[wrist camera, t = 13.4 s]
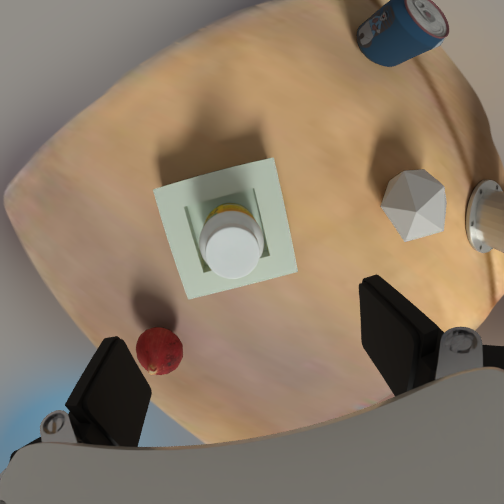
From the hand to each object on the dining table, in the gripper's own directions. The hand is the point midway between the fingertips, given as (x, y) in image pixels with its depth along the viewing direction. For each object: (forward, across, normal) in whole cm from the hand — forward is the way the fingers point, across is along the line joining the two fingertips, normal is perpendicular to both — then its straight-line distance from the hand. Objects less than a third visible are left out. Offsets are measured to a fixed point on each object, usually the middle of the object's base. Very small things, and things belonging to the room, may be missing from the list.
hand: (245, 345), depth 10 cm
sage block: (+22, +1, 0) cm, 22 cm away
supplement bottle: (+21, +1, 0) cm, 21 cm away
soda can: (+23, -23, -19) cm, 38 cm away
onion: (+22, +13, +12) cm, 28 cm away
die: (+23, -21, +2) cm, 31 cm away
